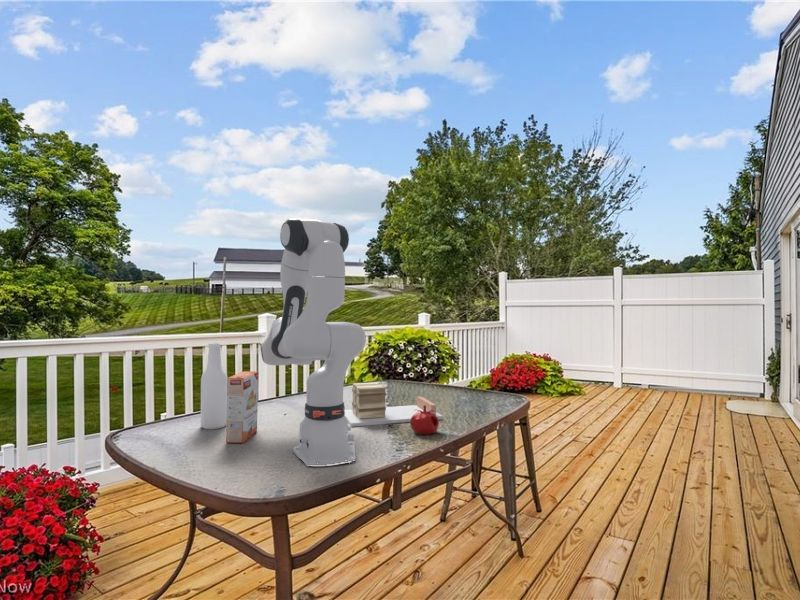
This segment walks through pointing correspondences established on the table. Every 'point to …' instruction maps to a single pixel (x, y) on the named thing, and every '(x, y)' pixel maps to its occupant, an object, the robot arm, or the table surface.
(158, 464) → the table surface
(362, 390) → the crate
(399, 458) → the table surface
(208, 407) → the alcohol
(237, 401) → the cracker box
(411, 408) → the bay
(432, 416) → the red apple
